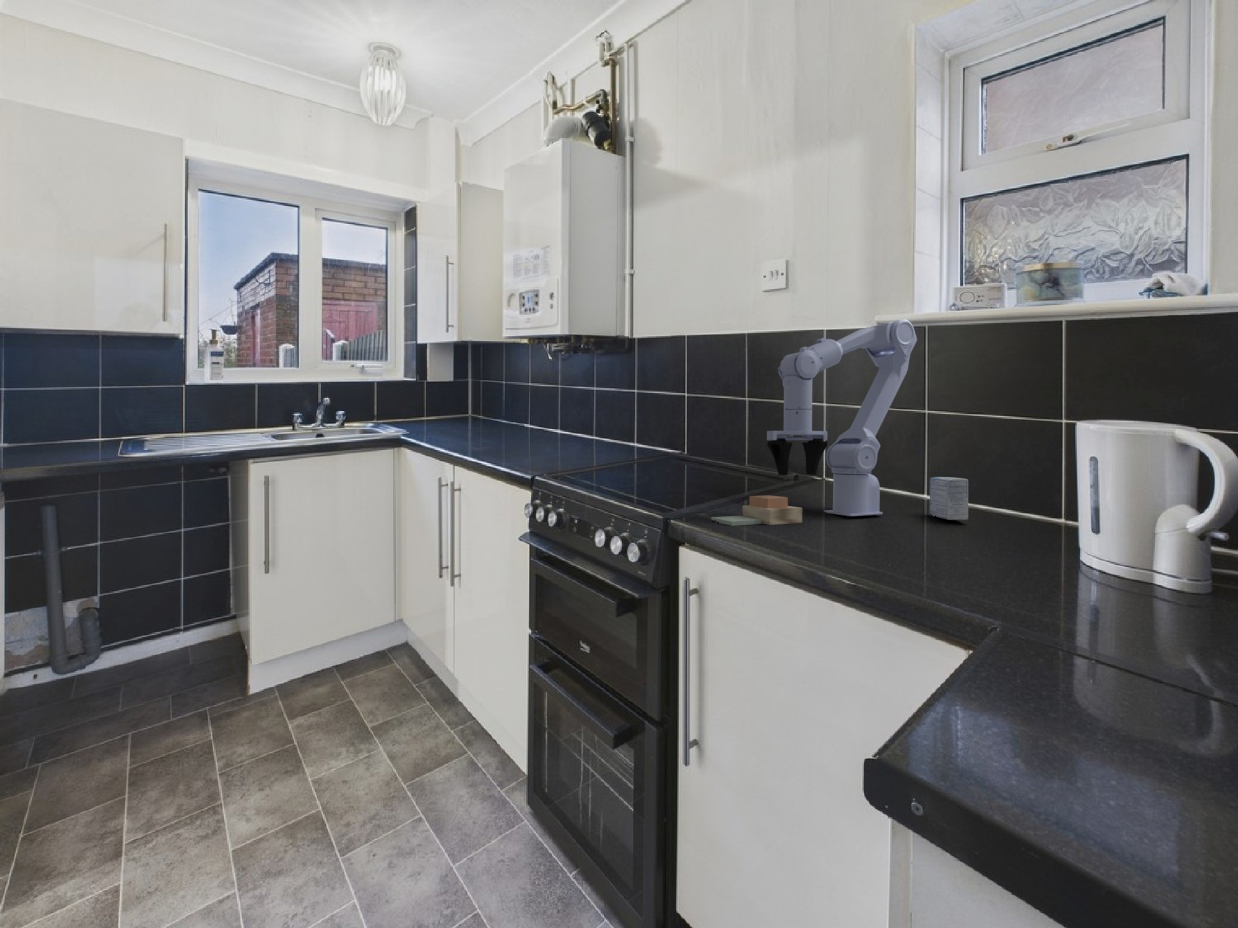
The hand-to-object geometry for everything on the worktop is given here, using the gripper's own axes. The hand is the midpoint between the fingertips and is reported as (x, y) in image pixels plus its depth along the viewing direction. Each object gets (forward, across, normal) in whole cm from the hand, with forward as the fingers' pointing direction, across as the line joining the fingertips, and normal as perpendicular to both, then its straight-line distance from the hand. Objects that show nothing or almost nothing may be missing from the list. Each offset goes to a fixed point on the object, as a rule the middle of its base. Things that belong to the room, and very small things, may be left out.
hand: (797, 474), depth 128 cm
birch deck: (+9, +7, 0) cm, 12 cm away
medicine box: (+10, -32, +11) cm, 35 cm away
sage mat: (+9, +15, -1) cm, 18 cm away
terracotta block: (+6, +8, 0) cm, 10 cm away
